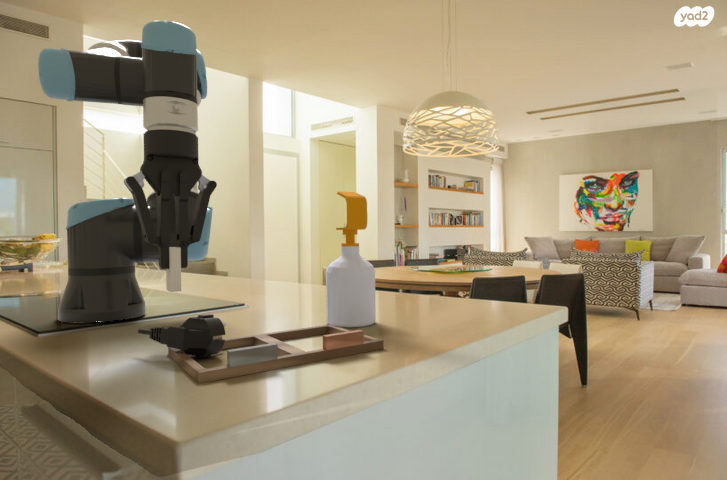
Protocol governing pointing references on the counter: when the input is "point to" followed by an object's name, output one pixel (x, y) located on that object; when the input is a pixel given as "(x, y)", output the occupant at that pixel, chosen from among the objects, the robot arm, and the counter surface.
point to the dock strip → (278, 351)
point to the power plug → (192, 335)
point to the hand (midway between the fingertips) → (173, 290)
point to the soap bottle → (351, 274)
